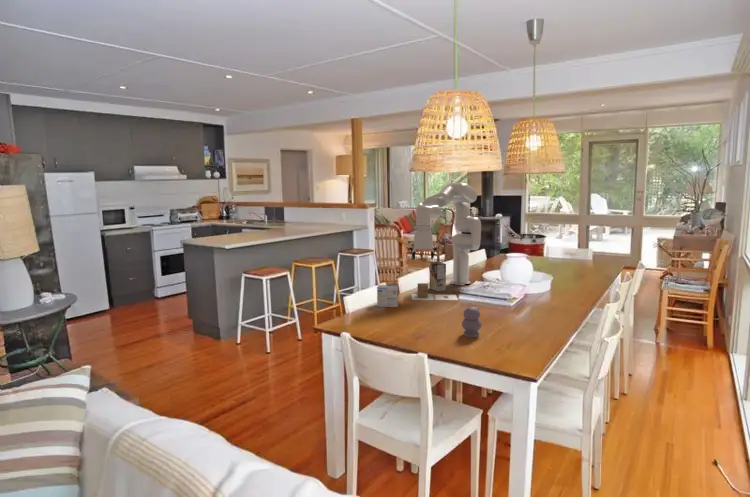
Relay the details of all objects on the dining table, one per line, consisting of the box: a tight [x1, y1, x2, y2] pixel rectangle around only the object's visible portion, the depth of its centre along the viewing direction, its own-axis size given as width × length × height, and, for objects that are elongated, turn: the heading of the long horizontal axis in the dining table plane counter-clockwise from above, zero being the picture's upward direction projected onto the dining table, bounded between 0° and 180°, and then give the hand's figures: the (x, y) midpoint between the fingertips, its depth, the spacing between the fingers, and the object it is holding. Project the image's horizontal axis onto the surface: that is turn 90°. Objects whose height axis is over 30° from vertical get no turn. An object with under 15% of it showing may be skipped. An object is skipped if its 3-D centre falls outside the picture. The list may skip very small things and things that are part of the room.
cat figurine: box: [461, 306, 483, 338], centre depth 192 cm, size 9×8×12 cm
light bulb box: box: [376, 283, 399, 308], centre depth 239 cm, size 11×7×11 cm, turn 84°
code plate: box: [434, 294, 459, 301], centre depth 256 cm, size 12×12×1 cm
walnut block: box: [416, 282, 429, 298], centre depth 256 cm, size 6×6×7 cm
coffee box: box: [429, 261, 447, 292], centre depth 275 cm, size 9×6×16 cm
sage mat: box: [410, 293, 435, 301], centre depth 257 cm, size 14×12×1 cm
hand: (423, 259), depth 254 cm, fingers open, 9 cm apart
